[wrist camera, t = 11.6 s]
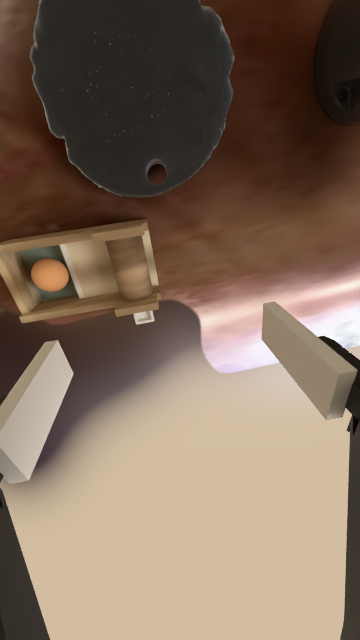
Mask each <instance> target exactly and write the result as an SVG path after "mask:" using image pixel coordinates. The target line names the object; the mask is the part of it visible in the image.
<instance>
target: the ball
mask: <svg viewBox="0 0 360 640" xmlns="http://www.w3.org/2000/svg"><path fill="white" fill-rule="evenodd" d="M31 277H32V280H33V282H34V283H35V284H36V285H37V286H38V287H39V288H40V289H42V290H45V291H49V292H54V291H59V290H61V289H62V288H64V287H65V286H66V284H67V283H68V280H69V273H68V270H67V268H66V267H65V265H64V264H62V263H61V262H60V261H58V260H56V259H52V258H44V259H41V260H39V261H37V262H36V263H35V264H34V265H33V267H32V270H31Z"/></svg>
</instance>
